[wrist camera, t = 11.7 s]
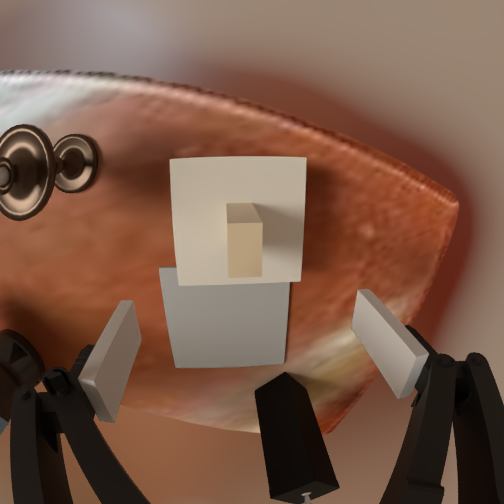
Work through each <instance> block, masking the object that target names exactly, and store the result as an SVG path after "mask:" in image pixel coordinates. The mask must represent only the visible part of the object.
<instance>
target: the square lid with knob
mask: <svg viewBox="0 0 504 504" xmlns="http://www.w3.org/2000/svg"><path fill="white" fill-rule="evenodd" d="M170 183H171V203H172V219H173V232H174V245H175V256H176V266H177V276H178V285H179V286H196V285H230V284H257V283H279V282H299V281H301V269H302V253H303V236H304V216H305V191H306V157H276V156H229V157H198V158H180V159H170Z"/></svg>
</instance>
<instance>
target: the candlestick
mask: <svg viewBox="0 0 504 504" xmlns="http://www.w3.org/2000/svg"><path fill="white" fill-rule="evenodd" d="M97 167H98V155H97V151H96V148H95V146H94V144H93V143H92V141H91V140H90V139H88V138H87V137H85V136H83V135H80V134H70V135H67V136H65V137H63V138H61V139H60V140H59V141H58V142H57V143H56V144H55V145H54V147H53V146H52V144H51V141H50V139H49V138H48V136H47V135H46V133H44V132H43V131H42V130H41V129H40V128H38V127H36V126H34V125H28V124H22V125H16V126H14V127H11V128H10V129H9V130H7V131H6V132H5V133H4V134H3V135H2V136H1V137H0V211H1V212H2V214H4V215H5V216H6V217H8V218H10V219H12V220H16V221H22V220H26V219H29V218H31V217H33V216H35V215H37V214H38V213H39V212H40V211H42V209H43V208H44V207H45V206H46V204H47V202H48V201H49V199H50V197H51V194H52V191H53V188H54V185H55V186H56V187H57V188H58V189H59V190H61V191H62V192H65V193H76V192H79V191H81V190H83V189H85V188H86V187H87V186H88V185H89V184H90V183H91V182H92V180H93V179H94V177H95V174H96V171H97Z"/></svg>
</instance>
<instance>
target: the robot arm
mask: <svg viewBox="0 0 504 504" xmlns="http://www.w3.org/2000/svg"><path fill="white" fill-rule="evenodd" d="M351 329H352V330H353V332H354V333H355V334H356V336H357V337H358V339H359V340H360V342H361V343H362V345H363V346H364V348H365V349H366V351H367V352H368V354H369V355H370V357H371V358H372V360H373V361H374V363H375V364H376V366H377V367H378V369H379V370H380V372H381V374H382V375H383V377H384V378H385V380H386V381H387V383H388V384H389V386H390V387H391V389H392V390H393V392H394V394H395V395H396V397H397V398H398V399H401V398H405V397H408V396H410V395H411V394H412V391H413V389H414V387H415V388H416V390H417V391H418V393H417V395H416V397H415V399H414V401H413V403H412V405H411V407H413V410H412V414H411V417H410V421H409V425H408V428H407V431H406V435H405V438H404V441H403V444H402V448H401V450H400V453H399V456H398V459H397V462H396V465H395V468H394V470H393V473H392V475H391V478H390V480H389V483H388V485H387V488H386V490H385V492H384V494H383V497H382V499H381V501H380V503H379V504H441V503H442V499H443V496H444V487H442V486H441V479H442V475H443V471H444V466H445V461H446V456H447V451H448V446H449V440H450V433H451V426H452V422H453V429H454V437H455V446H456V457H457V471H458V504H504V405H503V402H502V399H501V396H500V393H499V390H498V387H497V384H496V382H495V379H494V376H493V374H492V371H491V369H490V367H489V364H488V361H487V360H486V358H485V357H484V356H483V355H482V354H480V353H475V352H473V353H470V354H468V356H467V358H466V360H465V361H455V360H454V359H453V358H452V357H450V356H449V355H446V354H438V353H437V352H436V351H435V350H434V349H433V348H432V347H431V346H430V345H429V343H427V341H425V339H424V338H423V337H422V336H420V334H419V333H418V332H417V331H416V330H415V329H413V328H412V327H410V326H408V325H406V326H404V325H403V324H402V323H401V322H400V321H399V320H398V319H397V318H396V317H395V316H394V315H393V313H392V312H391V311H390V310H389V309H388V308H387V307H386V306H385V305H384V304H383V303H382V302H381V301H380V300H379V299H378V298H377V297H376V296H375V295H374V294H373V293H372V292H371V291H370V290H369V289H362V290H358V292H357V298H356V304H355V310H354V315H353V320H352V325H351ZM141 341H142V338H141V334H140V329H139V325H138V321H137V316H136V312H135V307H134V302H133V301H128V300H121V301H120V303H119V305H118V306H117V308H116V310H115V312H114V313H113V315H112V317H111V318H110V320H109V322H108V324H107V325H106V327H105V329H104V331H103V332H102V334H101V336H100V338H99V340H98V341H97V343H96V345H87V346H86V347H85V348H84V349H83V350H81V352H80V354H79V356H78V358H77V359H76V361H75V364H73V366H72V368H71V370H70V372H69V373H68V371H67V370H66V369H65V368H63V367H54V368H51V369H49V370H47V371H46V372H45V369H44V365H43V362H42V360H41V358H40V357H39V355H38V353H37V352H36V351H35V349H34V348H33V347H32V346H31V345H30V343H29V342H28V341H26V340H25V339H24V338H23V337H22V336H20V335H19V334H17V333H16V332H14V331H11V330H7V329H5V330H1V331H0V435H1V434H2V432H3V431H4V429H5V428H6V426H7V425H8V423H9V421H10V419H11V429H10V430H11V431H10V458H11V459H10V462H11V479H12V490H13V499H14V504H73V500H72V497H71V493H70V489H69V484H68V480H67V475H66V470H65V464H64V458H63V452H62V446H61V438H60V433H64V434H65V436H66V438H67V440H68V443H69V445H70V447H71V449H72V451H73V453H74V455H75V457H76V459H77V461H78V463H79V465H80V467H81V469H82V471H83V473H84V474H85V476H86V478H87V480H88V482H89V484H90V485H91V487H92V489H93V490H94V492H95V494H96V495H97V497H98V498H99V500H100V502H101V503H102V504H151V503H150V502H149V501H148V500H147V499H146V497H145V496H144V495H143V494H142V492H141V491H140V490H139V489H138V487H137V486H136V485H135V483H134V482H133V481H132V479H131V478H130V477H129V475H128V474H127V473H126V471H125V470H124V468H123V467H122V465H121V464H120V463H119V461H118V459H117V458H116V456H115V455H114V453H113V452H112V450H111V449H110V447H109V446H108V444H107V442H106V441H105V439H104V437H103V436H102V434H101V432H100V431H99V429H98V427H97V425H96V424H95V422H94V420H93V419H94V416H95V413H96V415H97V417H98V419H99V420H100V421H104V422H111V423H115V419H116V417H117V413H118V410H119V407H120V403H121V400H122V397H123V394H124V391H125V388H126V384H127V381H128V378H129V375H130V372H131V369H132V366H133V364H134V361H135V358H136V355H137V352H138V349H139V346H140V344H141ZM41 380H42V382H43V384H44V386H45V388H46V390H47V391H48V392H39V393H37V392H36V390H35V389H34V387H35V386H37V385H38V384H39V383H40V382H41Z"/></svg>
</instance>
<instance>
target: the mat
mask: <svg viewBox="0 0 504 504" xmlns="http://www.w3.org/2000/svg"><path fill="white" fill-rule="evenodd" d="M159 273H160V280H161V288H162V295H163V301H164V308H165V314H166V320H167V326H168V331H169V337H170V342H171V347H172V353H173V358H174V362H175V367H176V368H223V367H246V366H262V365H275V364H284V356H285V345H286V332H287V318H288V304H289V288H290V282H279V283H257V284H230V285H196V286H179V285H178V276H177V266H164V267H159Z"/></svg>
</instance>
